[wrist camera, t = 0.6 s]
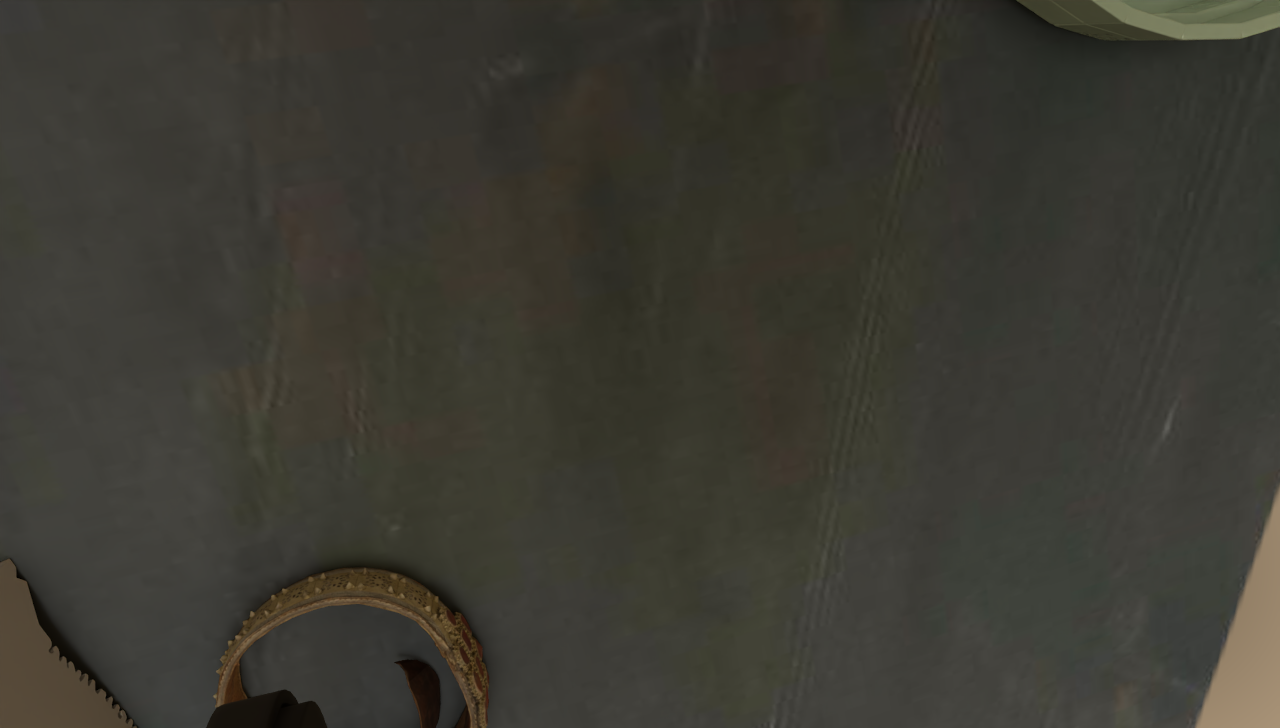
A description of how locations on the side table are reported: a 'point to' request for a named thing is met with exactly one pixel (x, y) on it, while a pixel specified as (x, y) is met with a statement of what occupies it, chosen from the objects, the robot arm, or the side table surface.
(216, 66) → the side table surface
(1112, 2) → the bowl
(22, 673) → the serrated bird cutout
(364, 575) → the bracelet
